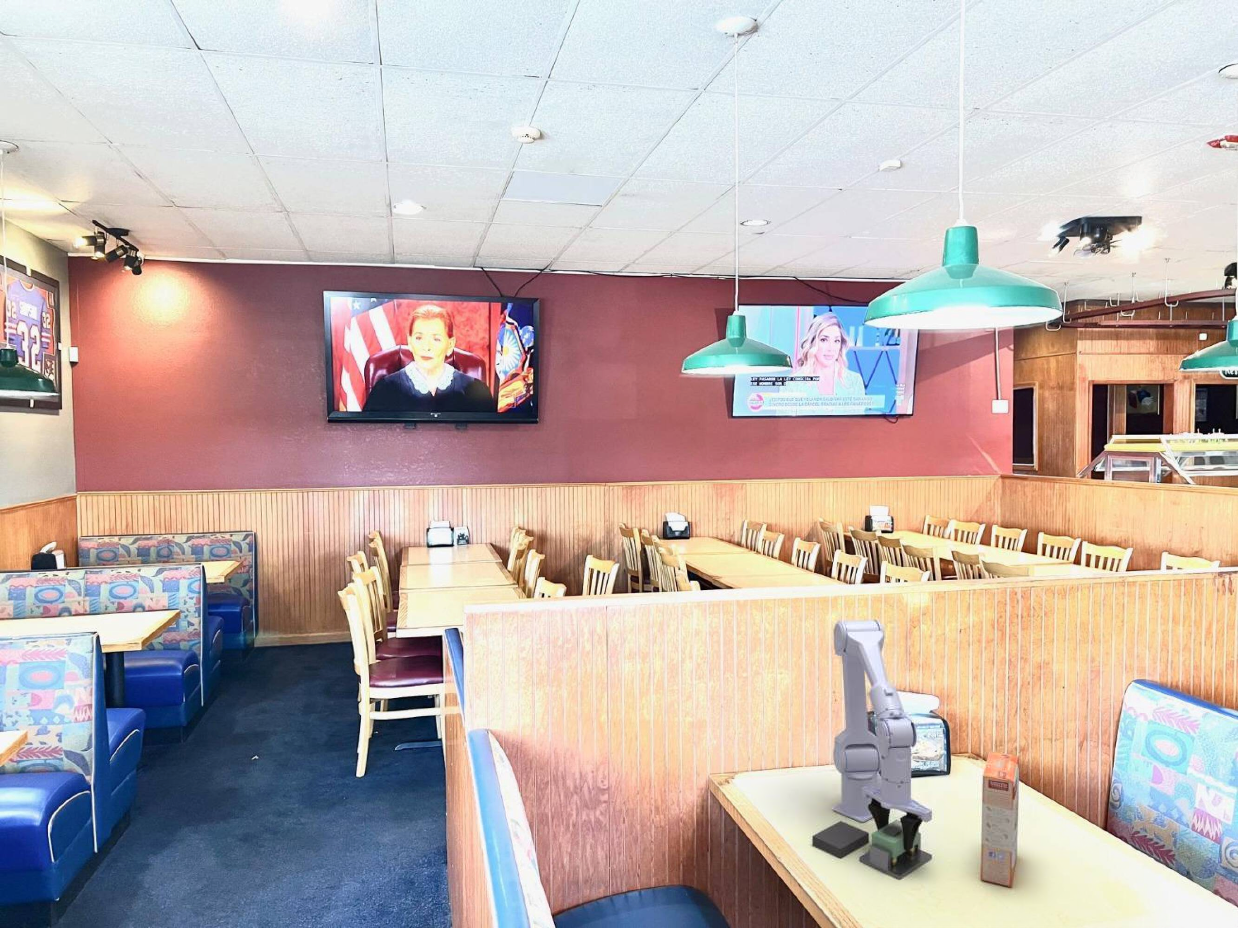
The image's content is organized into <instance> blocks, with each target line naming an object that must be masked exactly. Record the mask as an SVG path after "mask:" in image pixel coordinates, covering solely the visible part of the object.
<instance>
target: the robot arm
mask: <svg viewBox="0 0 1238 928" xmlns="http://www.w3.org/2000/svg"><path fill="white" fill-rule="evenodd" d="M832 633H833V646H834V647H833V648H834V654H835V655H836V656H839V657H840V658H841V662H842V681H843V696H844V698H843V699H844V700H843V701H844V713H845V728H844V729H843V730H842V731H841V732H840V733H839V734H837V735H836V736H835V737H834V744H833V746H834V747H833V752H832V753H833V755H832V756H833V763H834V766H835V769H836V770H837V771H838V773H839V774H841V775H840V776H841V783H840V785H841V789H840V791H841V798H840V799H841V803H840V804H838V805H837V806H834V807H833V809H832V810H833V811H835V812H837V813H839V814H841V815H843V816H845V817H848V818H851V819H853V820H855V821H858V822H860V823H865V822H866V821H869V820H870V819H873V821H874V824H875V826H876V829H877V830H876V831H878V830H879V829H881V828H883V827H885V826H886V825H888V824H890V823H889V822H890V812H891V809H894V810H897V811H900V812H903V813H905V814H904V815H902V816H901V817H900V818H899V821H901V824H902V829H903V844H904V850H906V851H908V850H910V849H912V847H913V843H914V839H915V836H916V833H917V831H918V829H920V826H921V825H922V823H923V822H925V823H926V824H927V823H928V822H930V821H932V819H933V810H932V809H930V808H928V807H926V806H924V805H923V804H921V803H919V802H918V801H916V800H915V799H913V798H912V748H914V747H915V746H916V745H917V740H918V733H917V729H916V725H915V722H914V720H913V719H912V717H911V716H910V715H909V713H908V712H905V711H904V708H903V704H902V701H901V699H900V696H899V693H898V690H897V688H896V687H895V686H894V685H893V684H891V683H889V680H888V676H887V672H886V667H885V663H884V659H883V654H882V650H883V648H884V642H885V630H884V626H883V625H882V622H880V620H878V619H871V620H838V621H837V622H836V623H835V624H834V628H833V632H832ZM866 677H867V679H868V681H869V683H870V686H871V688H870V689H869V691H868V696H869V700H870V702H871V706H872V709H873V712H874V715H875V719H876V722H877V723H876V727H875V731H876V735H875V734H874V733H873V732H871V731H870V730H869V722H868V721H869V719H868V705H867V704H868V703H867V692H866V691H867V690H866V688H867V687H866ZM879 772H880V773H879Z"/></svg>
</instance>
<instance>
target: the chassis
mask: <svg viewBox="0 0 1238 928" xmlns="http://www.w3.org/2000/svg"><path fill="white" fill-rule="evenodd" d="M921 834H922V833H921V832H919V843H918V844H916V845H915V846H913V847H912V849H910V850H908V851H905V852H904V853H902V854H900V855H899V856H897V857H896V858H892V857H891V851H889V850H887V849H884V848H882V847H880V846H878V845H875V844H872V843H871V844H870V845H869V851H867V852H866V853H863V854H862V855H860V856H859V858H858V861H859V862H860V863H863V864H864V865H865V866H869V867H871V868H873V869H875V870H877V871H879V872H881V873H884V874H885V875H888V876H890V877H892V878H894V879H896V880H898V881H900V880H902V879H903V878H905V877H906V876H908V875H909V874H911V873H912V872H914V871H915V870H917V869H918V868H920V867H922V866H923V865H925V864H926V863H928V862H929V861H931V860H932V859H933V854H931V853H929V852H927V851H924V850H921V849H922V846H921V845H922V843H921V842H922V841H921V838H922V837H921V836H922V835H921Z"/></svg>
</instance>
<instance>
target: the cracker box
mask: <svg viewBox="0 0 1238 928" xmlns="http://www.w3.org/2000/svg"><path fill="white" fill-rule="evenodd" d="M984 766H985V767H984V770H983V773H982V784H981V785H982V787H981V788H982V789H981V790H982V791H981V794H982V795H981V833H980V835H981V842H980V844H981V846H980V880H981V881H985V882H988V883H993V884H997V885H1001V886H1003V887H1004V886H1005V887H1008V888H1012V887H1013V882H1014V881H1013V879H1014V874H1015V867H1016V862H1017V855H1018V833H1019V832H1018V829H1019V828H1018V827H1019V794H1020V792H1019V791H1020V790H1019V789H1020V788H1019V786H1020V785H1019V784H1020V756H1018V755H1015V754H1010V753H1003V752H997V751H993V750H992V751H991V750H990V751H989V752H988V756H987V759H986V763H985V765H984Z"/></svg>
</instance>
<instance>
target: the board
mask: <svg viewBox="0 0 1238 928" xmlns="http://www.w3.org/2000/svg"><path fill="white" fill-rule="evenodd" d="M919 830H920V828H918V831H917V833H916V836H915V839H914V843H913V846H915V845H916V844H918V843H919V833H920V832H919ZM871 844H875V845H878V846H880V847H882V848H884V849H887V850H889V851H891V857H892V858H896V857H897V856H899V855H900V854H902V853H904V852H905V851H906V850H904V844H903V829H902V824H901V821H900V819H895V820H893V821H891V822H890V823H889V824H888V825H886V826H885V827H883V828H881V829H879V830H876V831H874V832H873V833H871Z"/></svg>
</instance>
